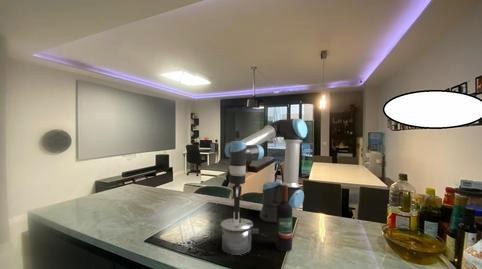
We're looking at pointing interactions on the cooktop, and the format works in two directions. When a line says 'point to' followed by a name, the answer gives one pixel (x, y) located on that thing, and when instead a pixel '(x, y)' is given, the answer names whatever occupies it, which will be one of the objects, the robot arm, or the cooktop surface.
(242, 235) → the pot
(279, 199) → the robot arm
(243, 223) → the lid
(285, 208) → the wine bottle
